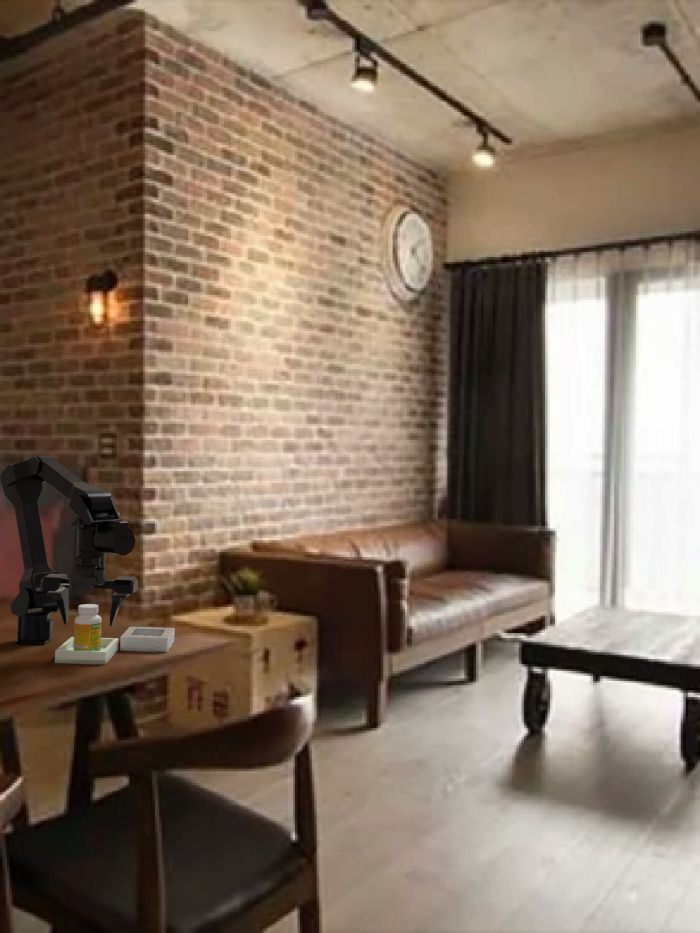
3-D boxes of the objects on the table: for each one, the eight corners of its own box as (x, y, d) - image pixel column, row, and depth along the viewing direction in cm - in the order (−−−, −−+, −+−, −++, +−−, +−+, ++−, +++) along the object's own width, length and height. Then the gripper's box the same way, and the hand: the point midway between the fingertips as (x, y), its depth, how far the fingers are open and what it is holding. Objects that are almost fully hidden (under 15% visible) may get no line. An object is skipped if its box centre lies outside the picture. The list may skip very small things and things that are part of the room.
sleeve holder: (120, 650, 186) (120, 636, 186) (129, 639, 196) (130, 626, 196) (167, 652, 187) (167, 638, 186) (174, 641, 197) (174, 628, 196)
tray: (54, 663, 174) (55, 650, 174) (70, 648, 186) (71, 636, 186) (105, 664, 175) (105, 652, 174) (118, 649, 187) (118, 638, 186)
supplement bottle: (92, 656, 177) (93, 609, 177) (68, 654, 178) (69, 607, 178) (105, 650, 182) (106, 604, 182) (81, 648, 183) (83, 602, 183)
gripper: (33, 553, 171) (30, 632, 172) (128, 557, 172) (126, 635, 173) (49, 546, 182) (47, 620, 183) (139, 550, 183) (136, 623, 184)
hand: (88, 625), depth 180 cm, fingers open, 9 cm apart
